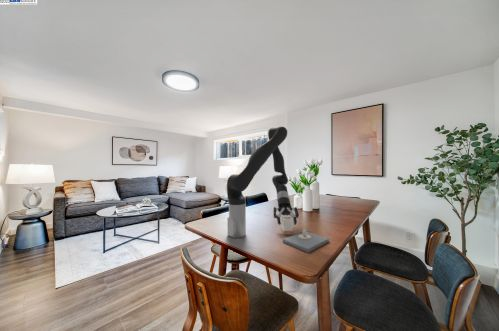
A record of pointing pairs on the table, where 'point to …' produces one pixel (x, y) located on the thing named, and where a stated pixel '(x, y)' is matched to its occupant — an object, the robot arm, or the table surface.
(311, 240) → the pin board
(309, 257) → the table surface
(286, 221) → the sleeve
